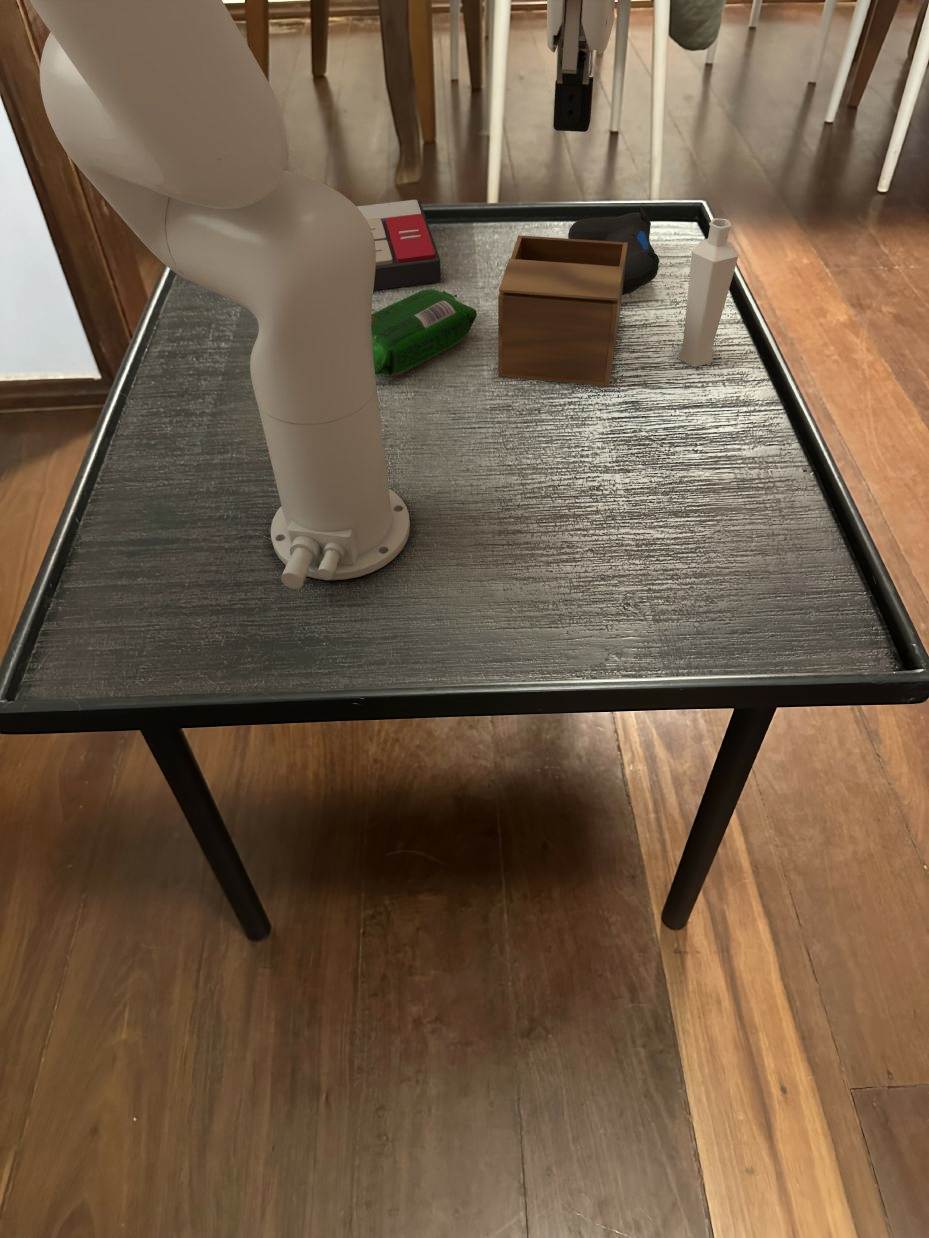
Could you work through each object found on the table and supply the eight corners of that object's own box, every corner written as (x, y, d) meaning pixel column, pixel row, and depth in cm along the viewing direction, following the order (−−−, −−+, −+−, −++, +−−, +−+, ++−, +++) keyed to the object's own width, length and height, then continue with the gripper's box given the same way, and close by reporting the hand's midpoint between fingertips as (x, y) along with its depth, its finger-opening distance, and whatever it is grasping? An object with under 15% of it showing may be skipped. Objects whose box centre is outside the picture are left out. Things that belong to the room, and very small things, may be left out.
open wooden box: (609, 386, 98) (617, 305, 91) (498, 376, 99) (498, 296, 92) (619, 321, 106) (628, 242, 99) (516, 313, 108) (518, 235, 101)
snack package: (488, 337, 105) (488, 295, 101) (381, 392, 98) (376, 349, 94) (448, 314, 108) (446, 272, 104) (341, 365, 102) (335, 323, 98)
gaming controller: (591, 329, 109) (669, 288, 105) (568, 291, 106) (648, 247, 102) (582, 260, 120) (653, 220, 116) (562, 223, 117) (634, 181, 113)
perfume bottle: (672, 366, 100) (694, 232, 88) (676, 344, 103) (698, 211, 91) (715, 371, 99) (743, 236, 88) (717, 349, 102) (745, 215, 90)
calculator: (349, 265, 109) (335, 203, 118) (353, 298, 112) (339, 235, 121) (440, 254, 110) (419, 193, 119) (441, 286, 113) (421, 225, 123)
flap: (617, 301, 90) (618, 298, 90) (498, 292, 92) (498, 289, 92) (622, 269, 94) (623, 266, 94) (509, 261, 96) (509, 258, 96)
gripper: (628, -105, 64) (605, 164, 78) (642, -148, 74) (619, 99, 88) (523, -106, 66) (518, 160, 79) (550, -148, 75) (542, 95, 89)
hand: (571, 127), depth 84 cm, fingers closed
